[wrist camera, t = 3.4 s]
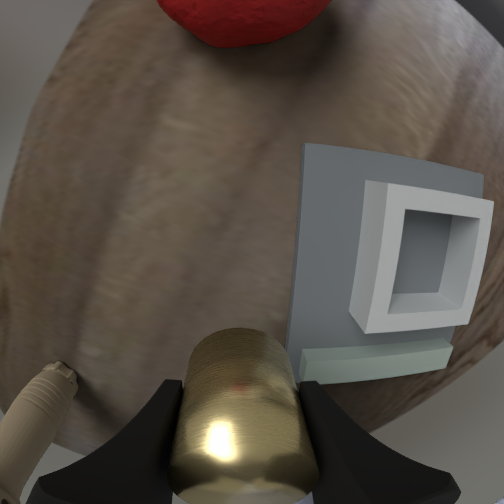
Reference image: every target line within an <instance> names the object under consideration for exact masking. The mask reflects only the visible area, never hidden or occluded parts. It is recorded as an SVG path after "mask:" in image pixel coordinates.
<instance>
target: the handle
mask: <svg viewBox="0 0 504 504" xmlns="http://www.w3.org/2000/svg"><path fill="white" fill-rule="evenodd" d="M76 378H77V376H76V374H75V372H74V371H73V370H71V369H69V368H67V367H66V366H65V365H64V364H63V363H62V362H59V361H57V362H56V363H55V364H52V363H50V364H48V365H47V366H46V367H45V368H44V369H43V370H42V372H41V373H39V374H38V375H37V376H36V377H34V378H33V379H32V380H31V381H30V382H29V383H28V384H27V385H26V386H25V387H24V389H23V390H22V391H21V392H20V394H19V395H18V396H17V397H16V399H15V400H14V402H13V403H12V405H11V406H10V408H9V410H8V411H7V413H6V415H5V416H4V418H3V420H2V421H1V423H0V504H20V500H19V498H20V496H21V493H22V490H23V488H24V486H25V484H26V482H27V481H28V479H29V477H30V476H31V474H32V472H33V471H34V469H35V467H36V465H37V464H38V462H39V460H40V459H41V458H42V456H43V454H44V453H45V451H46V450H47V448H48V447H49V445H50V444H51V442H52V441H53V439H54V438H55V436H56V434H57V433H58V431H59V429H60V427H61V425H62V424H63V422H64V420H65V417H66V415H67V413H68V411H69V408H70V406H71V403H72V399H73V397H75V395H76V393H77V390H78V384H77V382H76Z"/></svg>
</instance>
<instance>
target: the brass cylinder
mask: <svg viewBox="0 0 504 504" xmlns="http://www.w3.org/2000/svg"><path fill="white" fill-rule="evenodd" d="M166 478H167V483H168V485H169V487H170V488H171V490H172V491H173V492H174V493H175V494H176V495H177V496H178V497H179V498H181V499H182V500H184V501H186V502H187V503H189V504H294V503H296V502H298V501H300V500H301V499H303V498H304V497H306V496H307V495H308V494H309V493H310V492H311V491H312V490H313V489H314V488H315V487H316V485H317V483H318V480H319V470H318V466H317V463H316V459H315V455H314V451H313V447H312V443H311V439H310V436H309V432H308V428H307V424H306V420H305V417H304V413H303V409H302V405H301V401H300V398H299V394H298V390H297V386H296V383H295V379H294V375H293V371H292V368H291V364H290V360H289V357H288V354H287V352H286V350H285V349H284V347H283V346H282V345H281V344H280V343H279V342H278V341H277V340H276V339H274V338H273V337H271V336H270V335H268V334H266V333H264V332H261V331H258V330H255V329H249V328H230V329H224V330H221V331H218V332H215V333H213V334H211V335H209V336H207V337H206V338H204V339H203V340H202V341H201V342H200V343H199V344H198V345H197V346H196V347H195V348H194V350H193V352H192V354H191V356H190V359H189V364H188V369H187V373H186V378H185V383H184V387H183V392H182V397H181V402H180V407H179V412H178V417H177V422H176V427H175V432H174V437H173V442H172V448H171V453H170V459H169V464H168V470H167V477H166Z"/></svg>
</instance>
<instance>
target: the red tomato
mask: <svg viewBox="0 0 504 504" xmlns="http://www.w3.org/2000/svg"><path fill="white" fill-rule="evenodd" d="M330 1H331V0H157V2H158V4H159V6H160V7H161V8H162V9H163V11H164V12H165V13H166V14H167V15H168V16H169V17H170V18H171V19H172V20H174V21H176V22H177V23H178V24H179V25H180V26H182V27H183V28H184V29H186V30H188V31H190V32H191V33H192V34H194V35H195V36H196V37H197V38H199V39H201V40H202V41H203V42H205V43H208V44H209V45H211V46H213V47H218V48H234V47H241V46H247V45H252V44H257V43H259V44H264V43H269V42H273V41H276V40H278V39H280V38H282V37H284V36H286V35H289V34H291V33H294V32H296V31H298V30H300V29H301V28H303V27H304V26H306V25H307V24H309V23H310V22H311V21H312V20H313V19H314V18H315V17H317V16H318V15H319V14H320V13H321V12H322V11H323V10H324V9H325V8H326V7H327V5H328V4H329V3H330Z"/></svg>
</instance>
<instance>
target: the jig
mask: <svg viewBox="0 0 504 504" xmlns="http://www.w3.org/2000/svg"><path fill="white" fill-rule="evenodd" d="M483 183H484V175H483V174H479V173H476V172H472V171H468V170H464V169H460V168H456V167H451V166H447V165H443V164H438V163H434V162H429V161H424V160H419V159H414V158H409V157H404V156H398V155H393V154H387V153H381V152H375V151H368V150H361V149H354V148H347V147H339V146H331V145H322V144H312V143H303V144H302V148H301V167H300V184H299V199H298V213H297V227H296V240H295V252H294V263H293V275H292V285H291V296H290V306H289V315H288V325H287V334H286V342H285V350H286V352H287V354H288V357H289V360H290V364H291V368H292V371H293V375H294V379H295V383H300V381H315V380H316V381H317V382H318V383H319V384H332V383H345V382H355V381H365V380H374V379H382V378H389V377H396V376H403V375H409V374H416V373H421V372H427V371H433V370H438V369H443V368H446V365H447V363H448V360H449V357H450V355H451V352H452V349H453V346H452V345H451V344H450V342H451V339H452V336H453V333H454V330H455V327H456V325H464V324H468V323H469V319H470V316H471V313H472V309H473V306H474V302H475V299H476V295H477V291H478V287H479V283H480V279H481V275H482V271H483V266H484V261H485V256H486V251H487V246H488V240H489V234H490V228H491V221H492V214H493V205H494V201H489V200H485V199H482V194H483Z"/></svg>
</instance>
